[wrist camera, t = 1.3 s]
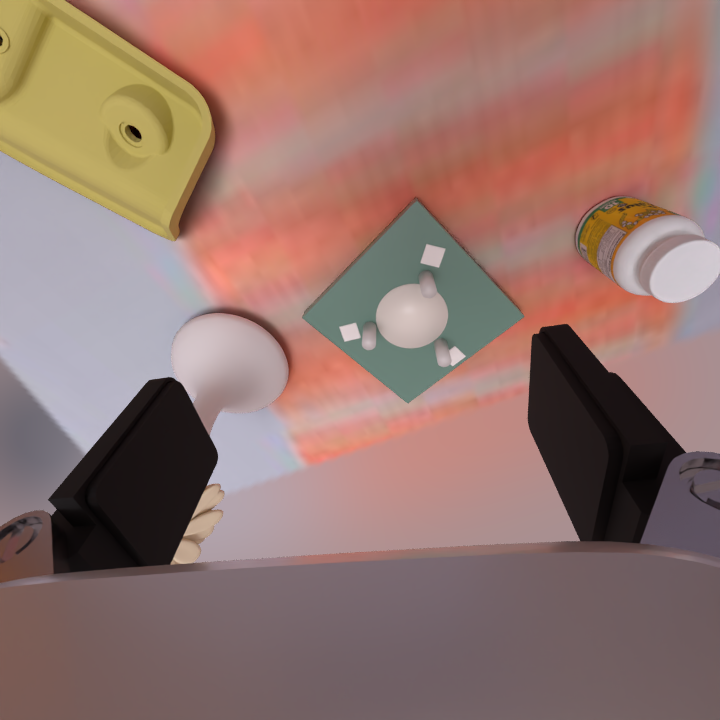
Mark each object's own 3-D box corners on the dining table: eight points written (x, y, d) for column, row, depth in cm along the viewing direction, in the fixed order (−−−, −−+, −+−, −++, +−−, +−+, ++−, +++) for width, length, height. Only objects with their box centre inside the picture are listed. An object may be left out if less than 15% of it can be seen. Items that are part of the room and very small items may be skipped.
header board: (415, 197, 31) (420, 209, 28) (520, 310, 36) (535, 333, 33) (304, 312, 37) (296, 334, 34) (407, 396, 42) (409, 423, 38)
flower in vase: (263, 416, 44) (158, 695, 24) (164, 369, 42) (-56, 641, 21) (319, 330, 38) (244, 608, 17) (207, 268, 35) (-48, 511, 14)
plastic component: (224, 106, 27) (159, 240, 27) (230, 139, 34) (179, 246, 34) (-147, -141, 20) (-218, 44, 21) (-44, -36, 27) (-100, 100, 28)
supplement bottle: (562, 257, 33) (620, 307, 25) (591, 189, 30) (666, 221, 22) (625, 266, 33) (701, 318, 25) (659, 199, 31) (758, 235, 23)
